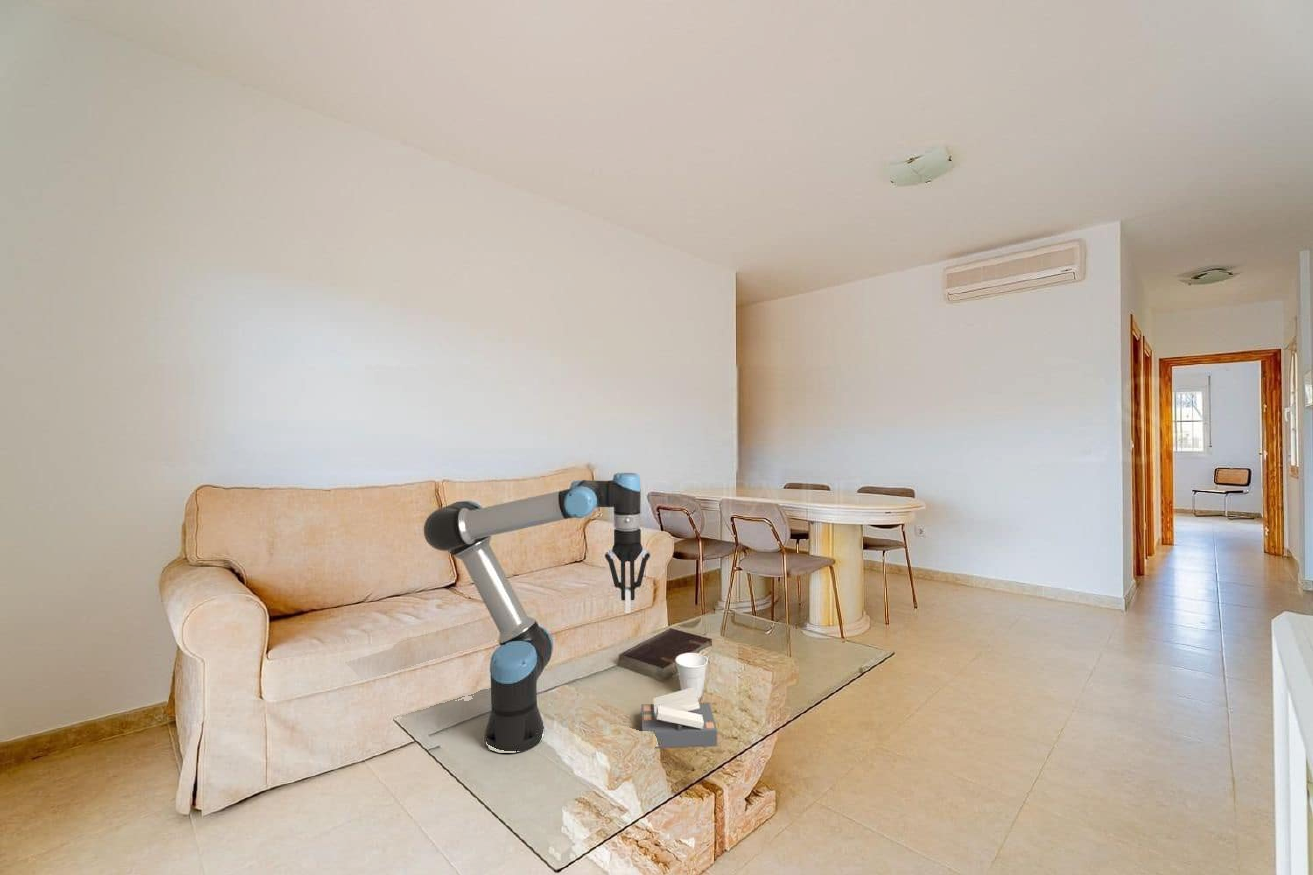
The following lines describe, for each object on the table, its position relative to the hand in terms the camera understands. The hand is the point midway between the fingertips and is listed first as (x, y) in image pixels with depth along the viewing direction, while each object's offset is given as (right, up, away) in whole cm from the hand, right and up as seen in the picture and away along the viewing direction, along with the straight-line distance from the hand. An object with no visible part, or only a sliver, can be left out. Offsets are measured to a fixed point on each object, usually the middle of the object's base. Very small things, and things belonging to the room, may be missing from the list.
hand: (628, 611), depth 157 cm
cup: (+19, -29, +11) cm, 36 cm away
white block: (+14, -24, -8) cm, 29 cm away
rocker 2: (+14, -24, -13) cm, 31 cm away
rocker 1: (+13, -24, -4) cm, 27 cm away
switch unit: (+14, -30, -8) cm, 34 cm away
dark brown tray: (+11, -29, +37) cm, 48 cm away
